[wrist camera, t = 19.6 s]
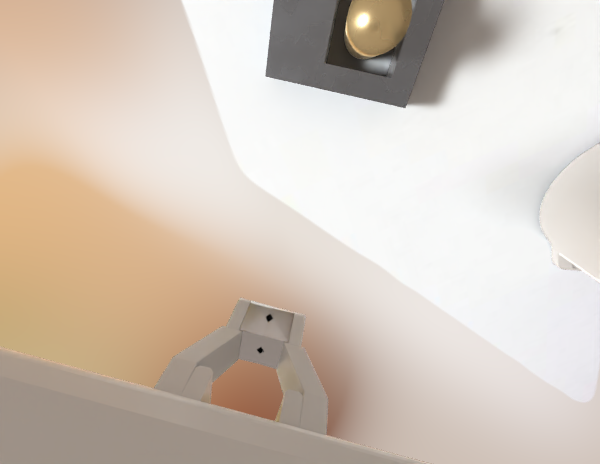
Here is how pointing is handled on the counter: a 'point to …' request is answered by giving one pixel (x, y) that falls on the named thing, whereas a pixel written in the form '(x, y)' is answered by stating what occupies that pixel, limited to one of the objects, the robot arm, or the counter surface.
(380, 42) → the gold round-topped cylinder
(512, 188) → the counter surface
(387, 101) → the jig plate
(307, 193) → the counter surface
